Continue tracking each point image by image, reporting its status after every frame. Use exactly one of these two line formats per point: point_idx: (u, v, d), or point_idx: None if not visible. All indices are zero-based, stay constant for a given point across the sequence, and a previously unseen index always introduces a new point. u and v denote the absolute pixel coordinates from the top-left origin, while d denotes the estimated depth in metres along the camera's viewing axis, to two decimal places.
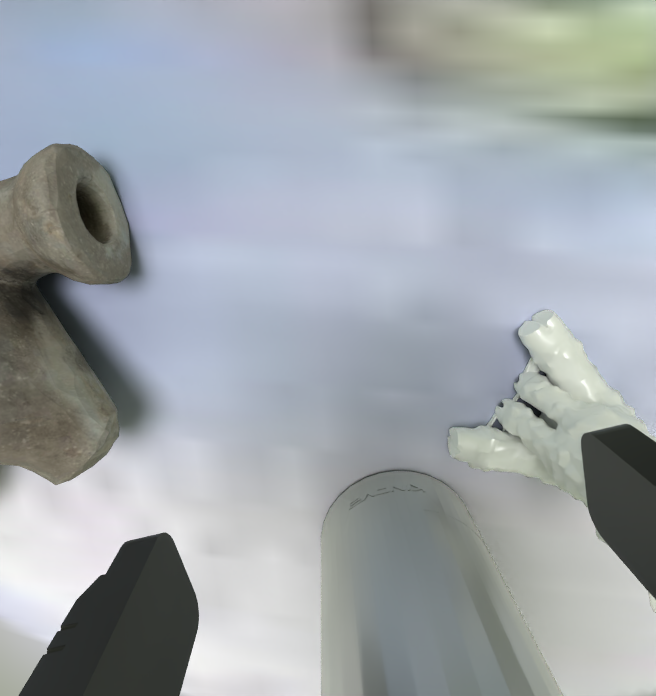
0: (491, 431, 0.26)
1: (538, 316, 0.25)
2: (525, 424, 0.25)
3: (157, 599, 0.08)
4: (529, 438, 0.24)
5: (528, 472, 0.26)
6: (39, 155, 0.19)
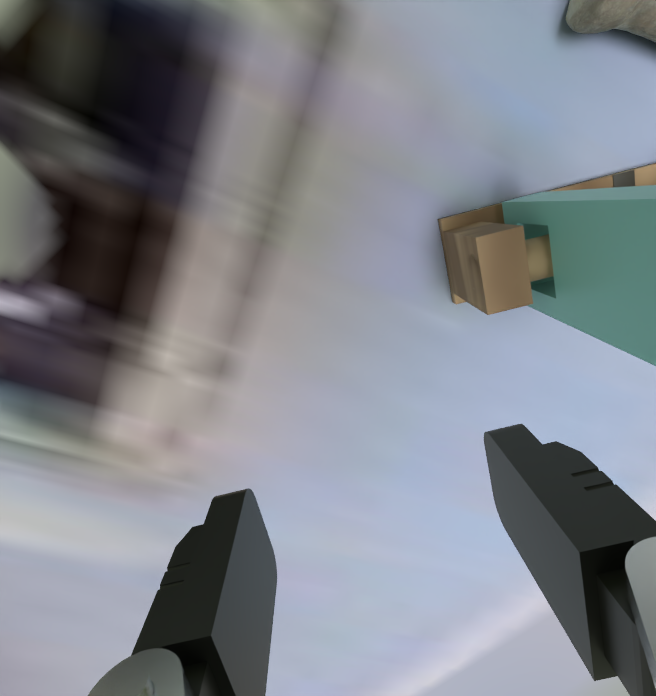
0: None
1: None
2: None
3: (251, 545, 0.09)
4: None
5: None
6: (614, 7, 0.26)
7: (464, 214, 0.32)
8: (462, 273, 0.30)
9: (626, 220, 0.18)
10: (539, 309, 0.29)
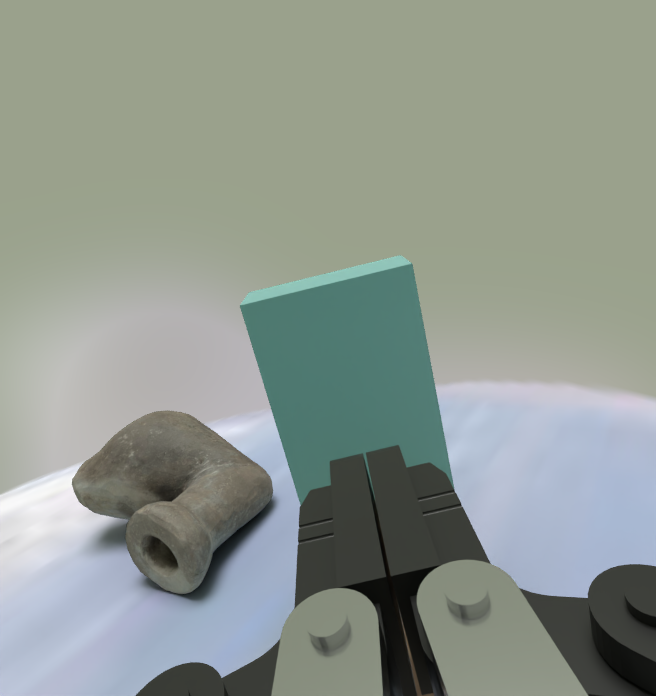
0: None
1: None
2: None
3: (374, 506, 0.09)
4: None
5: None
6: (186, 530, 0.28)
7: None
8: None
9: (280, 371, 0.18)
10: None
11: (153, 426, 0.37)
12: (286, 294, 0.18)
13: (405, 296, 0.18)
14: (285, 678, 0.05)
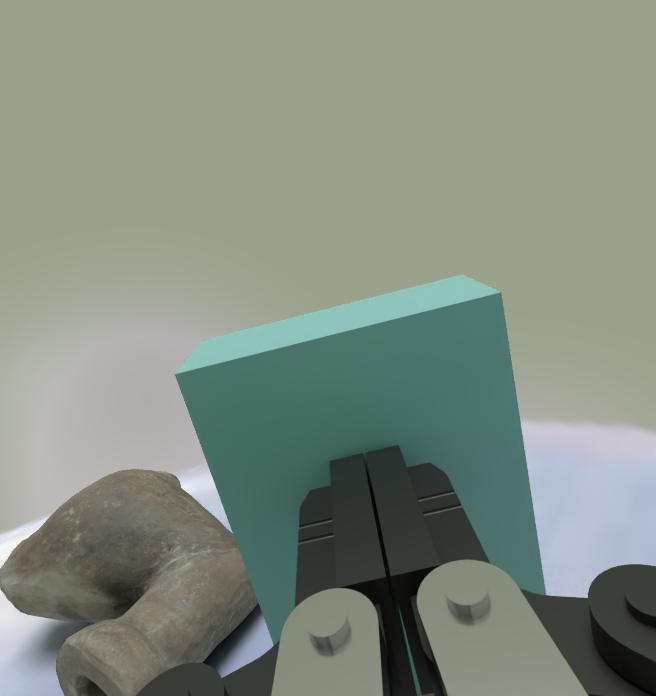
0: None
1: None
2: None
3: (374, 506, 0.09)
4: None
5: None
6: (135, 674, 0.19)
7: None
8: None
9: (255, 489, 0.10)
10: None
11: (109, 496, 0.28)
12: (262, 352, 0.09)
13: (485, 353, 0.09)
14: (285, 678, 0.05)
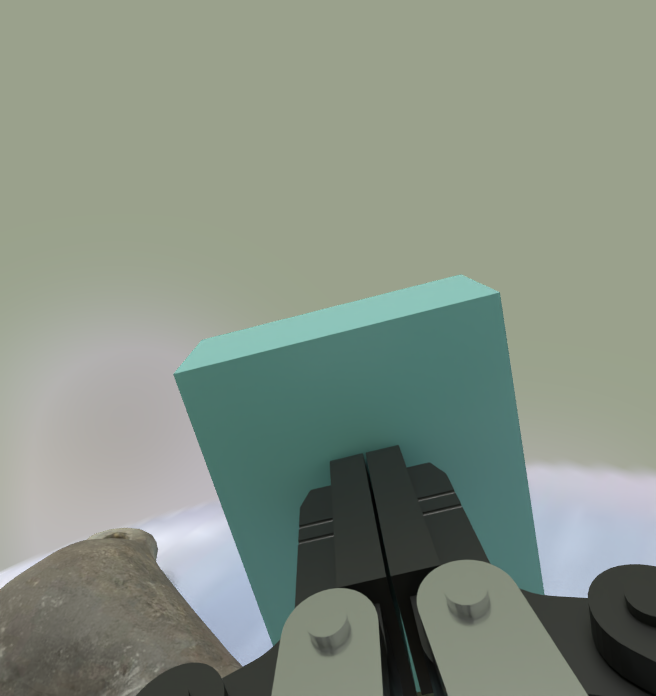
0: None
1: None
2: None
3: (374, 506, 0.09)
4: None
5: None
6: None
7: None
8: None
9: (254, 488, 0.10)
10: None
11: (50, 588, 0.21)
12: (261, 352, 0.09)
13: (483, 353, 0.09)
14: (285, 678, 0.05)
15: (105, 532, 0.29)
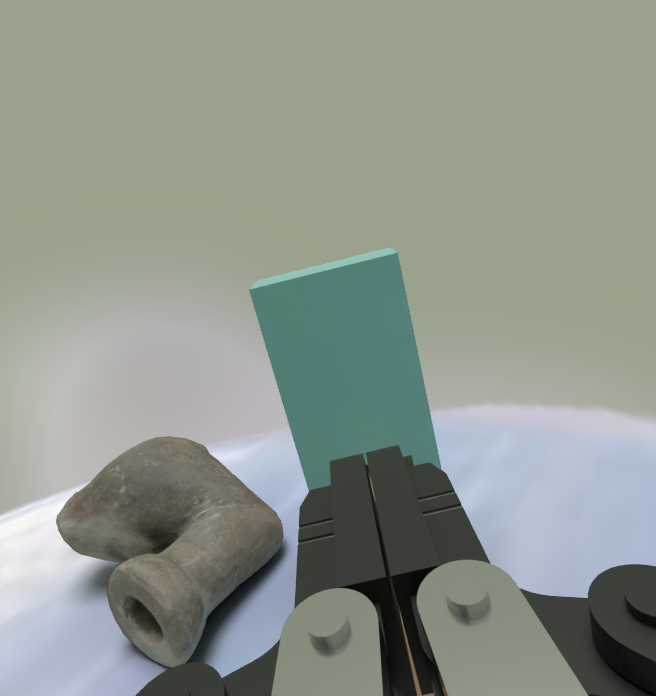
0: None
1: None
2: None
3: (374, 506, 0.09)
4: None
5: None
6: (173, 594, 0.23)
7: None
8: None
9: (284, 347, 0.21)
10: None
11: (149, 456, 0.32)
12: (289, 280, 0.20)
13: (391, 281, 0.20)
14: (285, 678, 0.05)
15: None
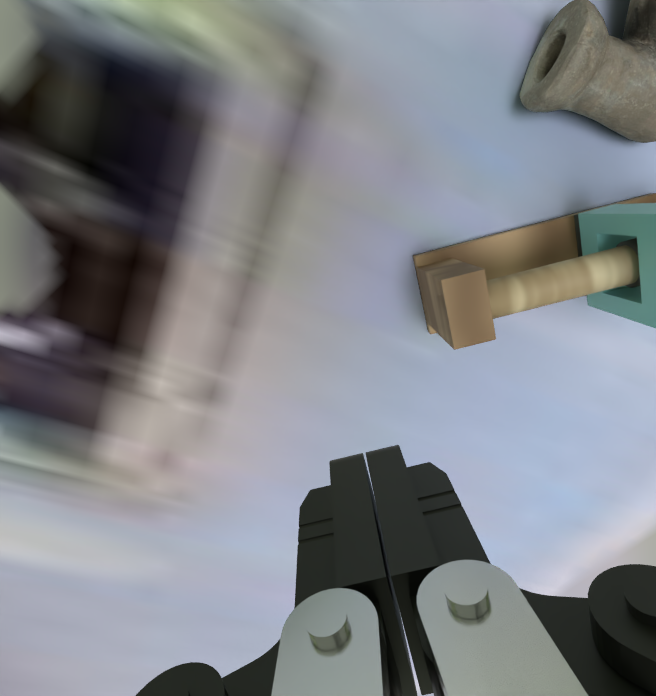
0: None
1: None
2: None
3: (374, 506, 0.09)
4: None
5: None
6: (557, 94, 0.28)
7: (436, 251, 0.34)
8: (433, 308, 0.32)
9: None
10: (619, 313, 0.31)
11: None
12: None
13: None
14: (285, 678, 0.05)
15: None
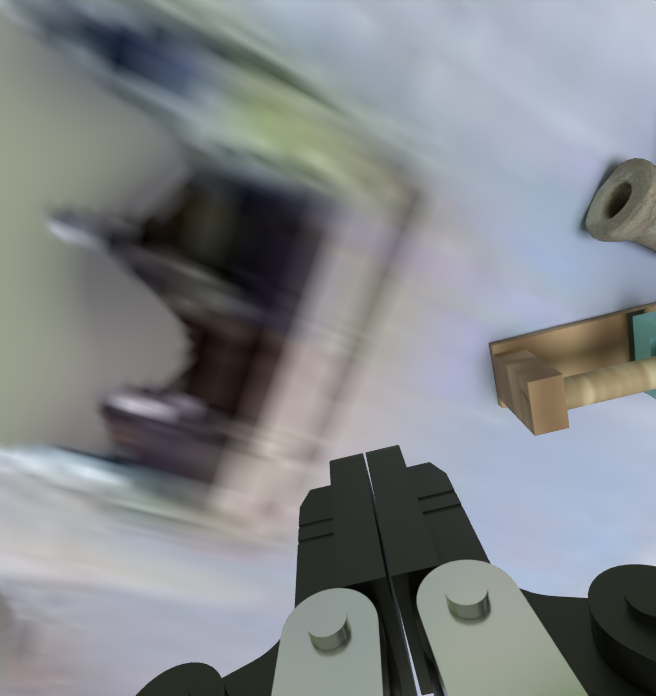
0: None
1: None
2: None
3: (374, 506, 0.09)
4: None
5: None
6: (622, 235, 0.35)
7: (510, 342, 0.41)
8: (511, 394, 0.39)
9: None
10: None
11: None
12: None
13: None
14: (285, 678, 0.05)
15: None
